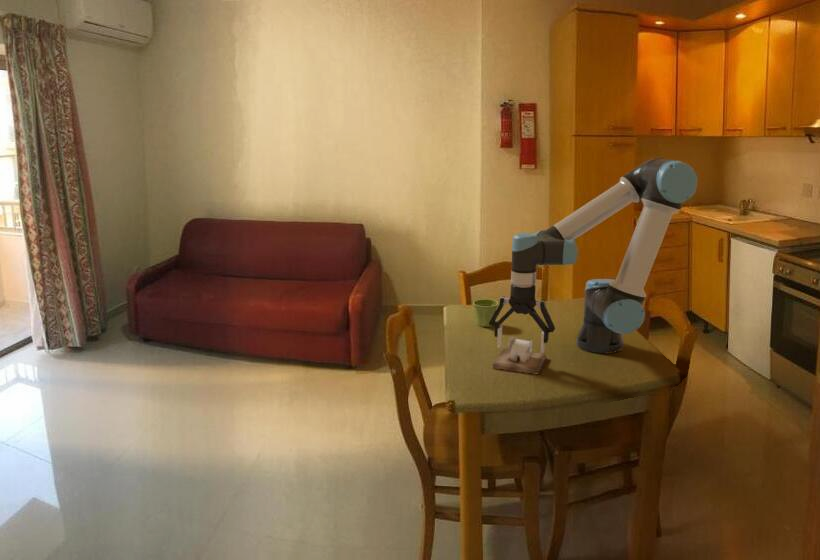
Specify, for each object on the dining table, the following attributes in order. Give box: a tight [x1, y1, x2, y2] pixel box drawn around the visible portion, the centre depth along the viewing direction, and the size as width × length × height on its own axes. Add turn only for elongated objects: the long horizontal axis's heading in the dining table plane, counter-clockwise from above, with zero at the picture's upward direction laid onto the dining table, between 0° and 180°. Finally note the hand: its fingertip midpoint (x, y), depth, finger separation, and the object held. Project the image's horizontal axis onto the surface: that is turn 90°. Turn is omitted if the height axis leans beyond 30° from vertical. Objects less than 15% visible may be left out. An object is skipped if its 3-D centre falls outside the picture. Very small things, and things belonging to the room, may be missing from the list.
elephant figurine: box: [506, 335, 533, 363], centre depth 198 cm, size 8×10×7 cm
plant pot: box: [472, 298, 500, 328], centre depth 235 cm, size 9×9×9 cm
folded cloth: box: [492, 348, 547, 374], centre depth 199 cm, size 14×14×2 cm
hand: (520, 349), depth 198 cm, fingers open, 13 cm apart
